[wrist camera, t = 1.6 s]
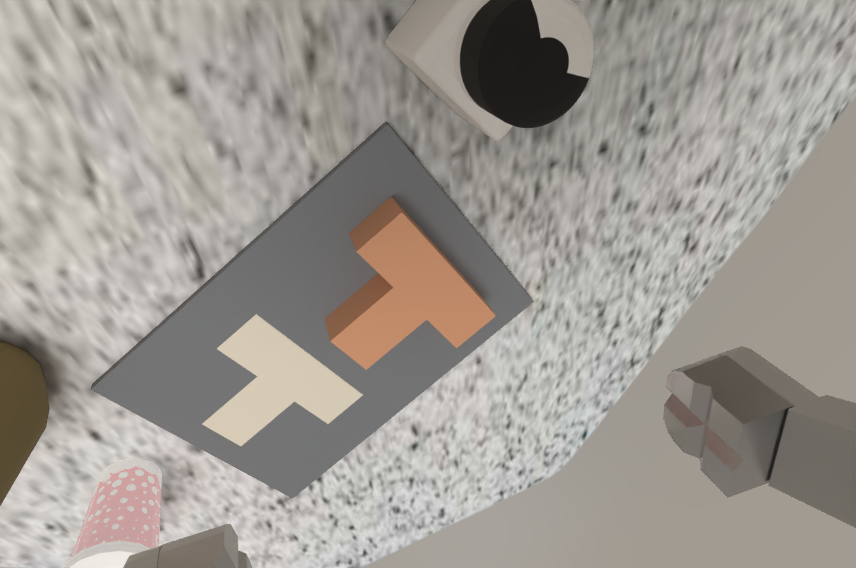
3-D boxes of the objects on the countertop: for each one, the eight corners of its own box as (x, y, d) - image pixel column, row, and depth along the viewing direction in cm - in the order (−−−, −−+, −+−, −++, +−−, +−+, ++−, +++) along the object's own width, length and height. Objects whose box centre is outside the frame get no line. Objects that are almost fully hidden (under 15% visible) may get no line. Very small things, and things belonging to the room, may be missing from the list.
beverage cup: (143, 515, 47) (113, 695, 36) (70, 490, 44) (12, 681, 32) (188, 468, 46) (173, 638, 35) (118, 440, 43) (76, 617, 31)
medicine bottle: (458, 116, 38) (537, 171, 28) (381, 42, 35) (440, 75, 25) (530, 31, 37) (639, 57, 27) (457, -56, 33) (553, -63, 23)
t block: (391, 196, 39) (401, 212, 37) (481, 296, 46) (496, 315, 43) (286, 287, 40) (290, 309, 38) (389, 372, 47) (398, 395, 44)
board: (385, 122, 37) (388, 124, 36) (530, 298, 48) (533, 301, 48) (92, 384, 40) (90, 389, 40) (292, 493, 51) (292, 498, 51)
